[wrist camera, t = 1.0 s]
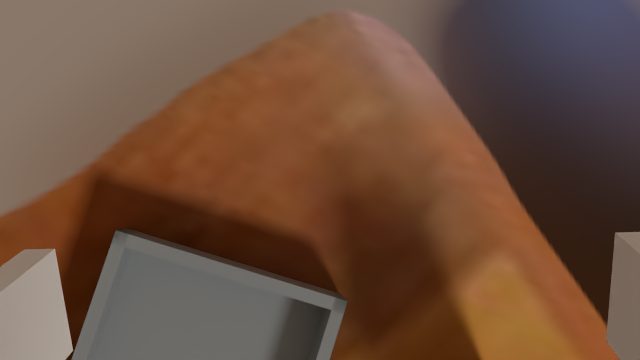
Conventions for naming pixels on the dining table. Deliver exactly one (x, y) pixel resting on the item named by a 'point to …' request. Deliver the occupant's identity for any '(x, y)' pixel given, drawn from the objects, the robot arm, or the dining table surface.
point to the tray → (202, 308)
